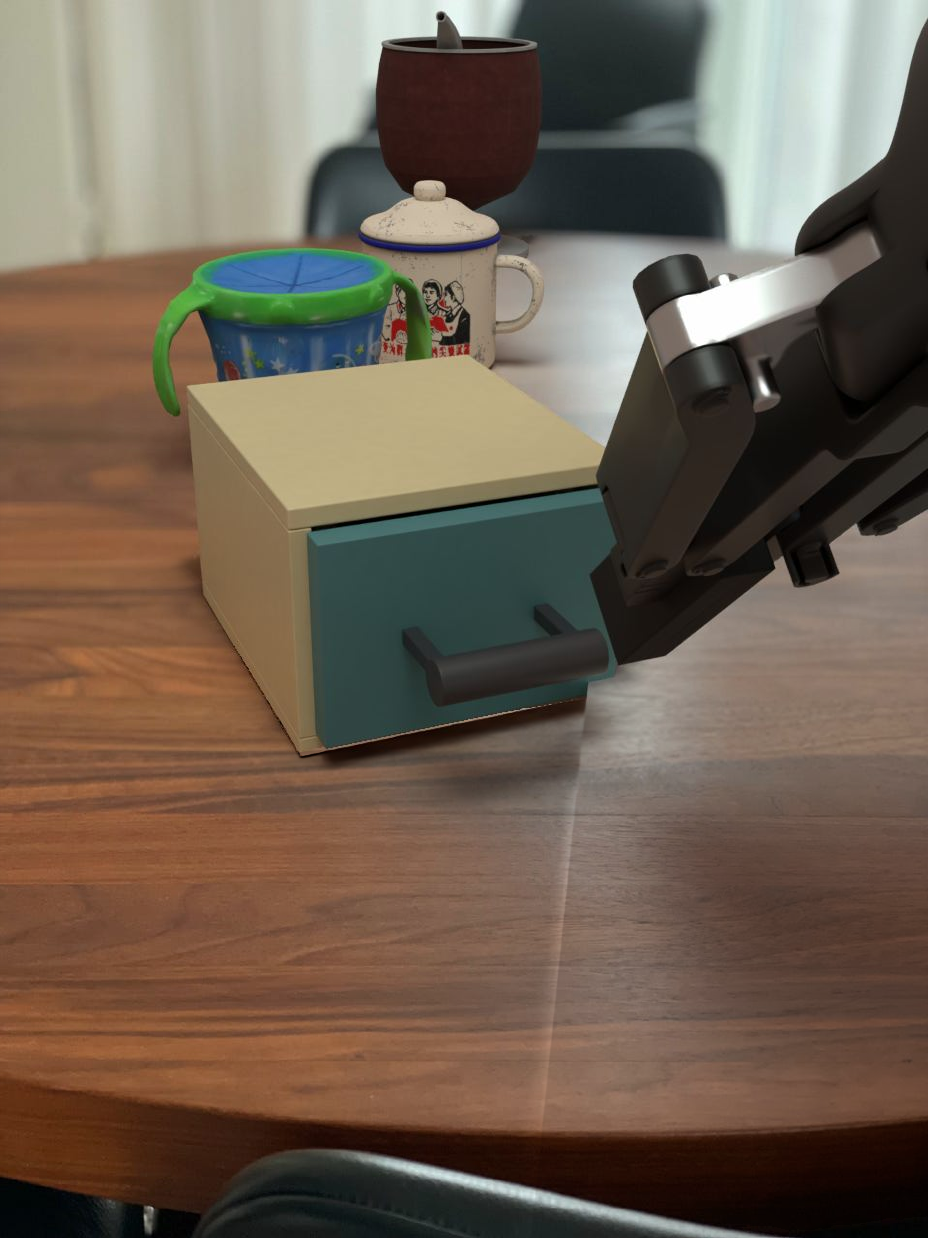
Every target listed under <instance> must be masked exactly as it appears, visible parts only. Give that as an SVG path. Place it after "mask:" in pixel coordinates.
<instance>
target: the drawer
mask: <svg viewBox="0 0 928 1238" xmlns="http://www.w3.org/2000/svg"><path fill="white" fill-rule="evenodd" d="M467 505H468V506H469V507H470V508H465V509H458V510H452V511H445V512H438V513H432V514H425V515H419V516H412V517H405V518H399V519H392V520H386V521H379V522H372V523H366V524H359V525H353V526H346V527H344V522H341V523H335V524H328V525H321V526H315V527H310V528H311V532H308V533H307V549H308V571H309V594H310V616H311V638H312V660H313V683H314V705H315V727H316V734H317V736H318V737H319V739H320V740H321V742H322V744H323V745H324V747H325V748H326V749H328V748H333V747H338V746H343V745H348V744H352V743H357V742H362V741H367V740H372V739H377V738H381V737H386V736H391V735H396V734H401V733H406V732H410V731H415V730H420V729H425V728H430V727H435V726H439V725H444V724H449V723H454V722H459V721H464V720H468V719H473V718H478V717H483V716H488V715H493V714H497V713H502V712H507V711H512V710H517V709H522V708H526V707H531V706H536V705H541V704H546V703H550V702H555V701H560V700H565V699H570V698H575V697H579V696H584V695H587V696H588V689H589V683H591V682H596V681H601V680H607V679H612V678H614V677H615V673H616V672H615V671H616V658H615V654H614V651H613V648H612V645H611V642H610V639H609V635H608V632H607V629H606V626H605V623H604V620H603V617H602V613H601V610H600V607H599V604H598V601H597V598H596V594H595V591H594V588H593V585H592V582H591V579H590V574H591V572H592V571H593V570H594V569H595V568H596V567H597V566H598V565H599V564H600V563H601V562H602V561H603V560H604V559H605V558H606V557H607V556H608V555H609V554H610V549H611V548H612V547H613V546H614V545H615V544H616V543H617V541H616V538H615V535H614V532H613V529H612V526H611V523H610V520H609V517H608V514H607V511H606V508H605V504H604V501H603V498H602V495H601V492H600V489H599V488H597V489H590V490H584V491H577V492H575V487H574V488H568V489H561V490H554V491H548V492H541V493H534V494H528V495H521V496H514V497H508V498H501V499H494V500H488V501H481V502H474V503H468V504H467Z"/></svg>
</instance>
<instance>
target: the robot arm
mask: <svg viewBox="0 0 928 1238" xmlns="http://www.w3.org/2000/svg"><path fill="white" fill-rule="evenodd" d="M903 92H904V94H903V98H902V102H901V106H900V110H899V115H898V119H897V122H896V126H895V130H894V133H893V137H892V140H891V144H890V146H889V148H888V151H887V153H886V154H885V156H884V157H883V158H882V159H880V160H878V162H877V163H875V164H874V165H873V166H872V167H871V168H870V169H869V170H867V171H866V172H864V174H862V175H861V176H859V178H856V179H855V180H854V181H853V182H851V183H849V185H847V186H846V187H844V188H842V189H841V190H839V191H837V192H836V193H834V194H833V195H831V196H829V197H828V198H827V199H826V200H824V201H823V202H822V203H820V204H819V205H818V206H817V207H816V208H815V209H814V210H813V211H812V212H811V213H810V214H809V216H808V217H807V218H806V220H805V221H804V223H803V224H802V226H801V227H800V229H799V231H798V234H797V236H796V239H795V244H794V256H793V257H790V258H788V259H784V260H783V261H780V262H777V263H775V264H772V265H769V266H767V267H765V268H762V269H759V270H757V271H754V272H751V273H749V274H746V275H744V276H741V277H738V275H737V274H734V273H732V272H724V273H720V274H717V275H715V276H714V277H712V278H710V279H709V277H708V274H707V272H706V270H705V266H704V264H703V261H702V260H701V258H700V257H699V256H698V255H696V254H692V253H680V254H678V253H677V254H672V255H669V256H666V257H662V258H660V259H658V260H656V261H654V262H652V263H650V264H648V265H647V266H646V267H644V268H643V269H642V270H640V271H639V272H638V273H637V274H636V275H635V277H634V278H633V280H632V290H633V293H634V296H635V299H636V302H637V305H638V308H639V310H640V313H641V317H642V319H643V323H644V325H645V328H646V332H645V336H644V338H643V341H642V344H641V347H640V349H639V353H638V355H637V358H636V361H635V364H634V367H633V369H632V373H631V375H630V378H629V381H628V383H627V386H626V388H625V391H624V395H623V398H622V400H621V402H620V406H619V408H618V411H617V413H616V414H617V415H616V417H615V420H614V423H613V425H612V429H611V431H610V434H609V437H608V439H607V443H606V445H605V447H606V448H605V451H604V454H603V456H602V459H601V462H600V465H599V468H598V470H597V473H596V480H597V483H598V486H599V489H600V492H601V495H602V498H603V501H604V504H605V508H606V511H607V514H608V517H609V520H610V523H611V526H612V529H613V532H614V535H615V538H616V541H617V543H616V544H615V545H614V546H613V547H612V548H611V549H610V554H609V555H608V556H607V557H606V558H605V559H604V560H603V561H602V562H601V563H600V564H599V565H598V566H597V567H596V568H595V569H594V570H593V571H592V572H591V574H590V579H591V582H592V585H593V588H594V591H595V594H596V598H597V601H598V604H599V607H600V610H601V613H602V617H603V620H604V623H605V626H606V629H607V632H608V635H609V639H610V642H611V645H612V648H613V651H614V654H615V662H616V663H617V666H624V665H627V664H633V663H638V662H644V661H648V660H653V659H657V658H663V657H667V656H668V655H669V654H670V653H671V652H673V651H674V650H675V649H677V648H678V647H679V646H680V645H681V644H683V643H684V642H685V641H687V640H688V639H689V638H691V636H693V635H694V634H696V633H697V632H698V631H699V630H701V629H702V628H703V627H704V626H705V625H707V624H708V623H709V622H711V621H712V620H713V619H714V618H716V617H717V616H718V615H720V613H722V612H723V611H725V610H726V609H727V608H728V607H730V606H731V605H732V604H733V603H735V602H736V601H737V600H738V599H740V598H741V597H742V596H744V595H745V594H746V593H747V592H749V590H751V589H752V588H753V587H755V586H756V585H758V583H760V582H761V581H762V580H763V579H765V578H766V577H768V576H769V575H770V574H772V573H773V572H774V571H775V570H776V569H777V568H776V565H775V562H776V561H778V560H779V559H781V558H783V561H784V563H785V566H786V569H787V572H788V574H789V577H790V580H791V583H792V586H793V588H799V589H800V588H807V587H812V586H816V585H818V584H822V583H824V582H826V581H829V580H831V579H833V578H835V577H837V576H838V575H840V570H839V567H838V565H837V562H836V559H835V557H834V554H833V551H832V549H831V546H830V544H832V543H833V542H834V541H836V540H837V539H838V538H839V537H840V536H842V535H843V534H844V533H845V532H847V531H848V530H850V529H851V528H852V527H854V526H855V525H856V526H857V529H858V532H859V535H860V536H862V537H869V536H870V537H871V536H875V537H879V536H885V535H888V534H890V533H893V532H895V531H897V529H899V527H900V526H902V525H903V524H905V523H907V522H909V521H911V520H912V519H914V518H916V517H918V516H919V515H922V514H923V513H924V512H926V511H928V17H927V19H926V20H925V22H924V23H923V26H922V28H921V30H920V32H919V35H918V37H917V40H916V42H915V46H914V49H913V53H912V57H911V60H910V65H909V69H908V74H907V79H906V83H905V88H904V91H903Z"/></svg>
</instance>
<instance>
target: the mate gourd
mask: <svg viewBox="0 0 928 1238" xmlns="http://www.w3.org/2000/svg"><path fill="white" fill-rule="evenodd" d="M435 20H436V22H437V29H436V36H435V35H433V36H411V37H410V36H409V37H397V38H390V39H386V40H383V41H381V52H380V55H379V56H380V57H379V61H378V67H377V68H378V69H377V77H376V85H375V123H376V130H377V134H378V141H379V148H380V151H381V156H382V159H383V163H384V166H385V168H386V169H387V171H388V172H389V174H390V175H391V176H392V178H393V179H394V181H395V182H396V184H397V185H398V186H399V188H400V190H402V191H403V193H406V194H408V195H410V196H412V197H415V195H414V186H415V184H416V183H417V182H419V181H428V180H430V181H440V182H442V183H443V184H444V185H445V188H446V194H445V196H444V197H447V198H451V199H454V200H457V201H459V202H461V203H462V204H463V205H465V206H466V207H467V208H469V209H470V210H472V211H473V212H475V211H477V210H479V209H481V208H482V207H485V206H486V205H488V204H492V203H493V202H495V201H497V200H499V199H501V198H504V197H506V196H508V195H510V194H513V193H514V192H515V191H516V190H517V189H518V188H519V187H520V185H521V183H522V182H523V180H524V179H525V178H526V176H527V175H528V174H529V173H530V171H531V169H532V168H533V165H534V161H535V157H536V154H537V151H538V145H539V139H540V134H541V133H540V132H541V127H542V116H543V84H542V74H541V64H540V60H539V54H538V50H537V48H538V42H535V41H532V40H528V39H521V38H511V37H497V36H496V37H495V36H468V35H467V36H466V35H465V36H463V35H460V32H459V30H458V28H457V26H456V25H455V24H454V22H453V20H452V19H451V18H450V16H449V15H447V13H446V12H445V11H443V10H439V11H437V12H436V13H435ZM527 254H528V255H529V244H528V243H527V241H525V240H523V239H521V238H517V237H515V236H511V235H507V234H502V233H501V238H500V240H499V241H498V242H497V255H514V256H520V257H523V258H525V257H526V256H527ZM527 257H528V256H527ZM527 257H526V258H527ZM526 258H525V259H526Z"/></svg>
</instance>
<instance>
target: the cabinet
mask: <svg viewBox="0 0 928 1238" xmlns="http://www.w3.org/2000/svg"><path fill="white" fill-rule="evenodd" d="M186 399H187V403H188V404H187V413H188V424H189V425H188V426H189V427H188V428H189V440H190V447H191V448H190V449H191V452H190V453H191V461H192V462H191V463H192V474H193V487H194V496H195V497H194V499H195V500H194V501H195V511H196V512H195V513H196V524H197V538H198V550H199V563H200V572H201V574H200V575H201V580H202V581H201V583H202V585H201V586H202V596H203V597H204V598H205V600H206V602H207V604H208V605H209V607H210V608H211V610H212V612H213V613H214V615H215V617H216V618H217V621H218V622H219V623H220V625H221V627H222V628H223V630H224V632H225V633H226V635H227V637H228V638H229V640H230V642H231V643H232V645H233V647H234V646H235V647H234V648H235V650H236V649H237V650H236V652H237V651H238V652H237V654H238V653H239V654H240V655H239V654H238V655H239V657H240V656H241V657H242V659H243V660H242V659H241V660H242V661H244V662H245V664H246V665H245V664H244V665H245V667H246V666H247V667H248V668H249V670H248V672H249V671H250V672H251V673H252V675H253V677H254V678H255V679H256V682H257V683H258V685H259V686H260V688H261V690H262V691H263V693H264V694H265V696H266V699H267V700H268V701H269V703H270V704H271V706H272V708H273V709H274V710H275V712H276V714H277V716H278V717H279V719H280V720H281V722H282V724H283V725H284V727H285V728H286V730H287V732H288V734H289V736H290V737H291V739H292V741H293V742H294V744H295V745H296V747H297V749H298V750H299V752H303V751H309V750H310V749H314V748H321V747H323V746H324V745H323V744H322V742H321V740H320V739H319V737H318V736H317V734H316V727H315V705H314V683H313V660H312V638H311V616H310V594H309V571H308V549H307V533H308V532H311V528H310V527H315V526H321V525H328V524H335V523H341V522H348V521H355V520H361V519H368V518H375V517H381V516H388V515H395V514H401V513H408V512H415V511H421V510H428V509H434V508H441V507H448V506H454V505H461V504H468V503H474V502H481V501H488V500H494V499H501V498H508V497H514V496H521V495H528V494H534V493H541V492H548V491H554V490H561V489H568V488H574V487H575V492H577V491H584V490H590V489H597V488H599V486H598V483H597V480H596V473H597V470H598V468H599V465H600V462H601V459H602V456H603V454H604V451H605V448H606V446H604V445H602V444H601V443H600V442H598V441H597V440H595V439H594V438H592V437H591V436H589V435H588V434H586V433H585V432H583V431H582V430H580V429H578V427H576V426H574V425H573V424H571V423H570V422H569V421H567V420H565V419H564V418H562V417H561V416H560V415H558V414H557V413H555V412H554V411H552V410H551V409H549V408H548V407H546V406H545V405H543V404H542V403H540V402H539V401H538V400H535V398H533V397H531V396H530V395H528V394H527V393H525V392H524V391H522V390H521V389H519V388H518V387H517V386H515V385H513V384H512V383H510V382H509V381H507V380H506V379H505V378H503V377H502V376H500V375H499V374H498V373H495V372H494V371H493V370H492V369H490V368H487V367H485V366H484V365H482V364H481V363H479V362H478V361H476V360H475V359H473V358H472V357H470V356H469V355H459V356H450V357H441V358H432V359H423V360H414V361H405V362H396V363H387V364H378V365H369V366H360V367H351V368H342V369H333V370H324V371H315V372H306V373H297V374H288V375H279V376H270V377H261V378H252V379H243V380H234V381H225V382H219V381H215V382H208V383H199V384H189V385H187V386H186ZM241 657H240V658H241ZM244 662H243V663H244ZM247 667H246V668H247ZM250 672H249V673H250ZM252 675H251V676H252ZM253 677H252V678H253ZM256 682H255V683H256ZM258 685H257V686H258ZM261 690H260V691H261ZM582 698H583V699H587V698H588V694H587V695H584V696H579V697H575V698H570V699H565V700H560V701H555V702H550V703H546V704H541V705H536V706H531V707H526V708H532V707H538V706H544V705H549V704H554V705H556V704H555V703H559V704H561V703H560V702H564V703H567V702H566V701H569V702H572V701H571V700H574V701H578V700H577V699H579V700H583V699H582ZM266 699H265V700H266ZM267 700H266V701H267ZM517 710H520V709H517ZM512 711H514V710H512ZM507 712H508V711H507Z"/></svg>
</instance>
